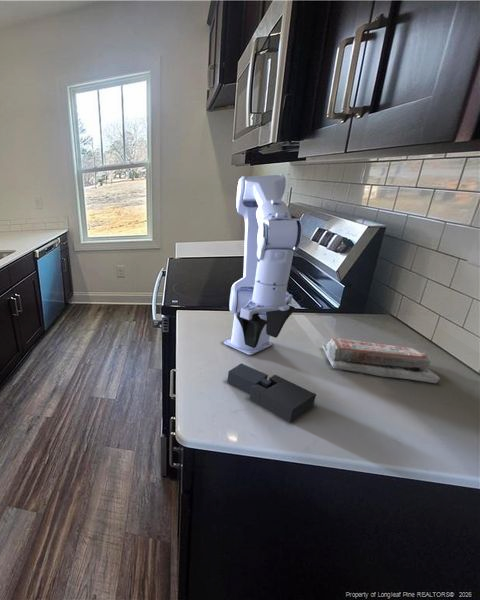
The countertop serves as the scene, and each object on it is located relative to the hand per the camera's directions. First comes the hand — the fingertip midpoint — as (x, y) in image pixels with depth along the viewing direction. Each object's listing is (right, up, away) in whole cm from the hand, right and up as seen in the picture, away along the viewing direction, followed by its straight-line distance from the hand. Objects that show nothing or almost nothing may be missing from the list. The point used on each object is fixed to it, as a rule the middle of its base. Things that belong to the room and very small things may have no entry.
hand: (261, 340), depth 69 cm
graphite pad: (-3, -10, +1) cm, 10 cm away
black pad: (+1, -12, -5) cm, 13 cm away
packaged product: (+29, -7, +5) cm, 30 cm away
